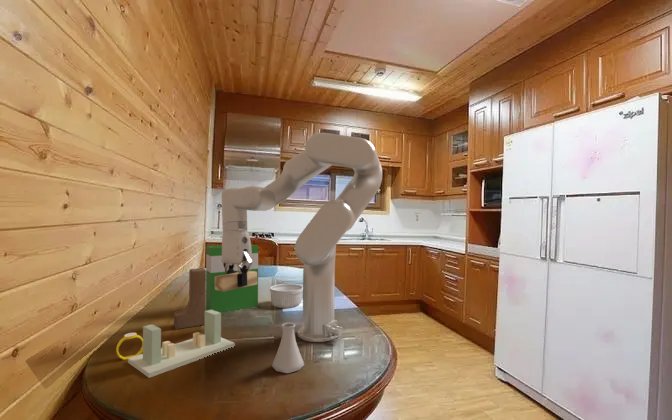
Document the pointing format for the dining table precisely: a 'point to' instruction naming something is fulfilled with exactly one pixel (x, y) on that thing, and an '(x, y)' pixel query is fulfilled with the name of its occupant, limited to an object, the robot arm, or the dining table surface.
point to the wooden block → (193, 302)
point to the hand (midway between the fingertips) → (236, 284)
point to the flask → (288, 351)
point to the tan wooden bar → (233, 281)
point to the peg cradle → (179, 347)
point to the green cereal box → (231, 298)
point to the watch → (129, 336)
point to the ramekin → (286, 295)
